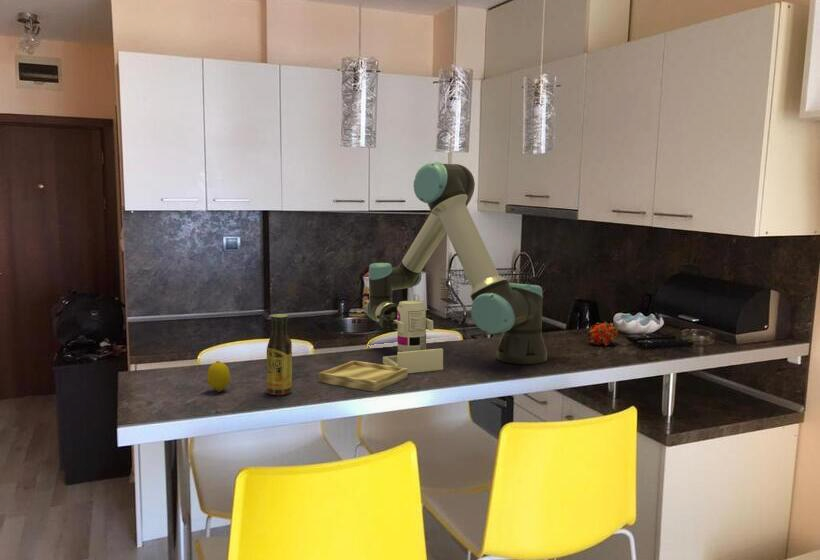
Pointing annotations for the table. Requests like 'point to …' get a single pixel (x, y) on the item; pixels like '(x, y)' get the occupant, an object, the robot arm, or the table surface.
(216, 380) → the lemon
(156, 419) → the table surface
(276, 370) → the sauce bottle
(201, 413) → the table surface
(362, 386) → the tray
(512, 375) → the table surface
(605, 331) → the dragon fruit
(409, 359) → the dock
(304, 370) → the table surface
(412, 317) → the supplement can
